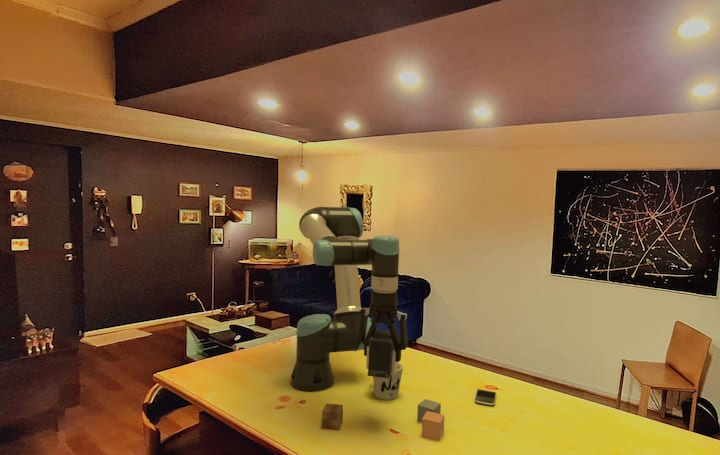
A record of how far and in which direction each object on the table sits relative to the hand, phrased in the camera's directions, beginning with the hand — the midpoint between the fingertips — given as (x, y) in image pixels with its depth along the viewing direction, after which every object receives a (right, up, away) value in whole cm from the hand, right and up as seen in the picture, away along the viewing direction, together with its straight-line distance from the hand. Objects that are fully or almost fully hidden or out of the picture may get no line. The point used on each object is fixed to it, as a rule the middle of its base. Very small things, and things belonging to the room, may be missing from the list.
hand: (381, 369), depth 123 cm
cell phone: (+35, -16, +18) cm, 43 cm away
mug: (+1, -15, +21) cm, 26 cm away
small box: (0, -1, 0) cm, 1 cm away
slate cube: (+14, -16, +3) cm, 21 cm away
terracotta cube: (+14, -16, -5) cm, 22 cm away
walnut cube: (-14, -15, -1) cm, 21 cm away
